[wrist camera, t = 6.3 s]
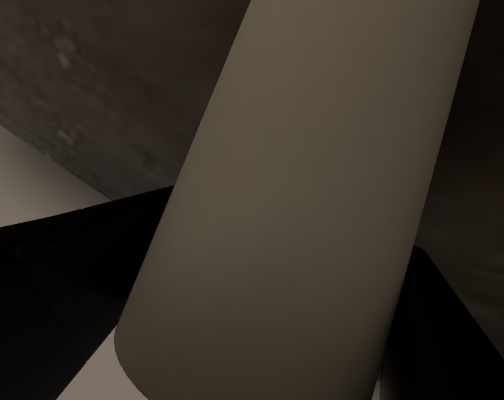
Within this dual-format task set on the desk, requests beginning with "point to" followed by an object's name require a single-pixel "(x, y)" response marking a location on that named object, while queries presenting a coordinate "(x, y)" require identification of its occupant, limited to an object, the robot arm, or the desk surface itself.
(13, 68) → the desk surface
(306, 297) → the paper towel roll
